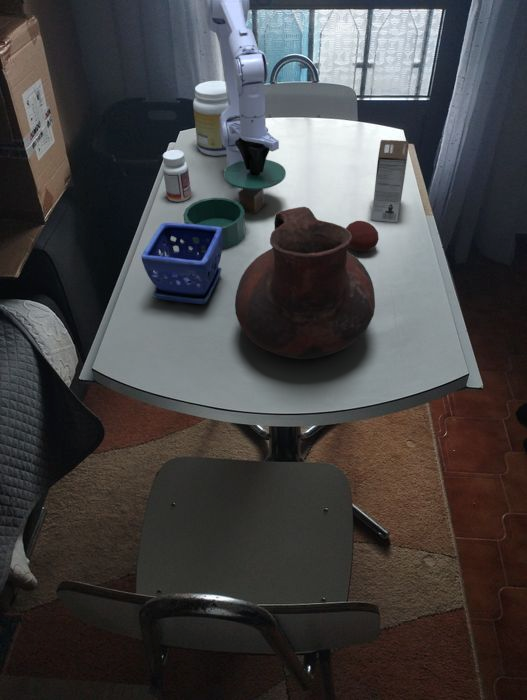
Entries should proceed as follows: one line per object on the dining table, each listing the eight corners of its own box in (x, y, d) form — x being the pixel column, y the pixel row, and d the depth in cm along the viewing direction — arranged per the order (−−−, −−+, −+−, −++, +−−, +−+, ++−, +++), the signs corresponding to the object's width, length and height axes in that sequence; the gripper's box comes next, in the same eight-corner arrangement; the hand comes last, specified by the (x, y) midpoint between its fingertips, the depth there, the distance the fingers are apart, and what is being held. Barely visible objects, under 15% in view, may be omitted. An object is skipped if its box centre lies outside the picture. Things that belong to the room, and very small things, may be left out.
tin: (181, 223, 143) (178, 203, 139) (237, 214, 145) (235, 193, 141) (193, 254, 133) (190, 233, 129) (251, 243, 135) (250, 222, 132)
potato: (348, 260, 130) (350, 236, 126) (337, 240, 136) (339, 216, 131) (381, 255, 131) (384, 232, 126) (368, 235, 137) (371, 212, 132)
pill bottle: (187, 188, 155) (182, 146, 147) (194, 199, 151) (189, 157, 143) (164, 193, 154) (158, 151, 146) (170, 204, 149) (163, 161, 142)
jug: (359, 289, 122) (370, 176, 105) (381, 377, 104) (399, 258, 87) (237, 294, 122) (228, 182, 105) (237, 384, 104) (227, 266, 87)
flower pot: (147, 305, 120) (137, 256, 112) (169, 267, 130) (161, 219, 122) (211, 313, 118) (205, 263, 110) (228, 274, 127) (224, 225, 119)
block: (239, 209, 147) (238, 192, 144) (248, 200, 150) (247, 184, 146) (254, 213, 145) (254, 196, 142) (263, 204, 148) (262, 188, 145)
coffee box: (373, 201, 148) (380, 138, 136) (400, 203, 146) (409, 140, 135) (370, 221, 141) (377, 156, 130) (398, 223, 140) (407, 158, 129)
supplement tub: (227, 160, 166) (222, 98, 154) (189, 152, 170) (182, 91, 158) (247, 142, 174) (244, 82, 162) (211, 135, 178) (205, 76, 166)
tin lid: (226, 163, 148) (225, 143, 144) (285, 162, 147) (285, 142, 144) (222, 192, 137) (220, 172, 134) (285, 191, 137) (285, 171, 133)
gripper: (288, 116, 130) (288, 174, 139) (243, 99, 138) (246, 155, 147) (264, 126, 126) (266, 185, 136) (220, 108, 134) (224, 165, 143)
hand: (254, 170), depth 141 cm, fingers closed on tin lid, 2 cm apart
